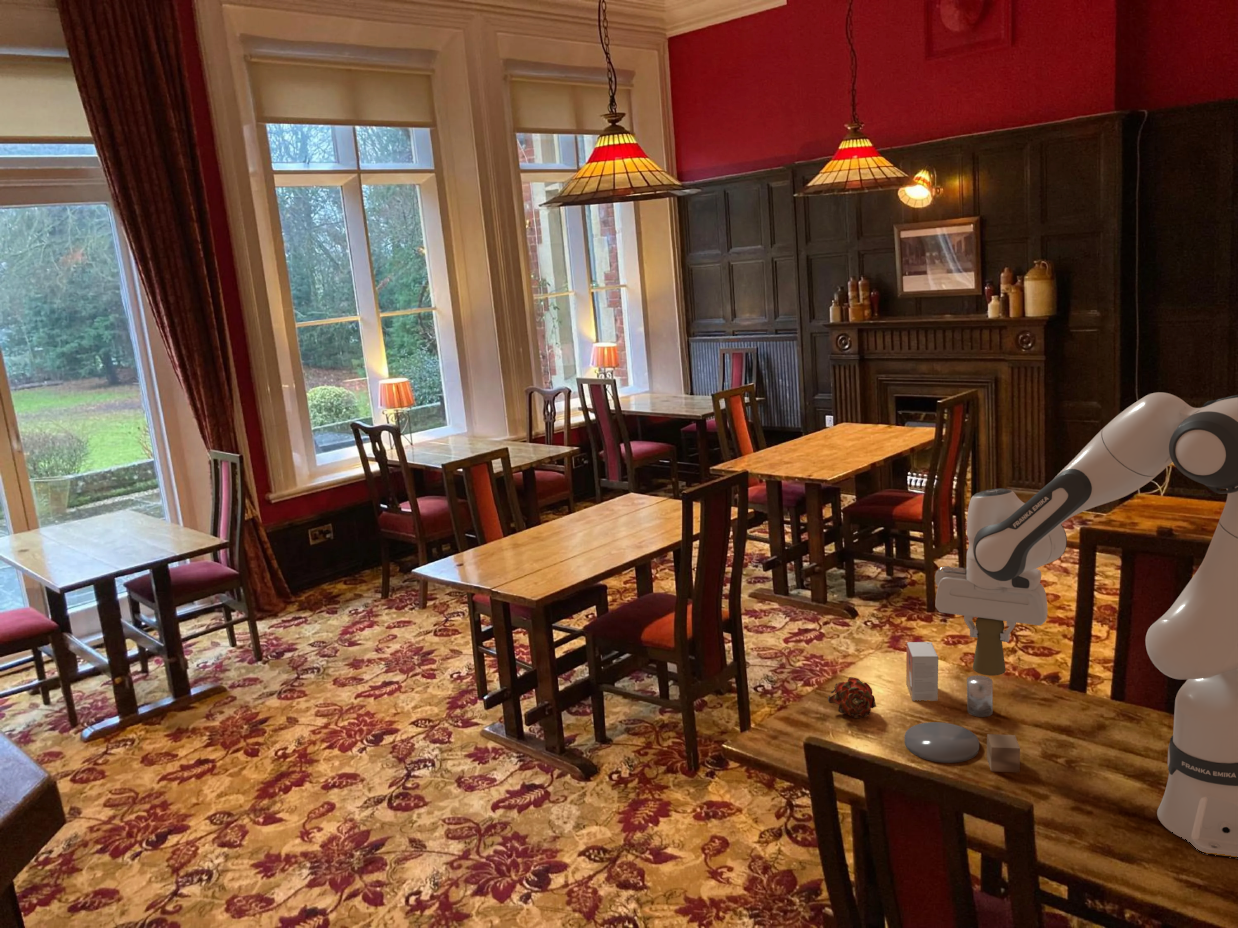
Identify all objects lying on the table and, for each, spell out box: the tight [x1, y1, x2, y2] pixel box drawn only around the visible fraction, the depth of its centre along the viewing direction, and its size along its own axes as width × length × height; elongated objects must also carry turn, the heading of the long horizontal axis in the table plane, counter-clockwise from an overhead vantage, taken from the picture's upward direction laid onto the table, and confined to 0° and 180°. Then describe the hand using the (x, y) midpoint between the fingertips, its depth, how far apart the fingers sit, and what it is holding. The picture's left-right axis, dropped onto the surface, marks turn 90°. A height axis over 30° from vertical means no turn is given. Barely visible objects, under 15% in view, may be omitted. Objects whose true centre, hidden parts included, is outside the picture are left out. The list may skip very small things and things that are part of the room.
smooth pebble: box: [904, 721, 980, 764], centre depth 192 cm, size 14×14×1 cm
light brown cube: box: [986, 733, 1021, 773], centre depth 183 cm, size 5×5×5 cm
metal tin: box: [966, 675, 994, 718], centre depth 203 cm, size 5×5×7 cm
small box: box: [905, 641, 939, 702], centre depth 213 cm, size 8×6×10 cm
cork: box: [972, 617, 1007, 677], centre depth 189 cm, size 6×6×11 cm
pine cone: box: [827, 676, 877, 719], centre depth 206 cm, size 8×8×12 cm
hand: (989, 638), depth 189 cm, fingers closed on cork, 4 cm apart
